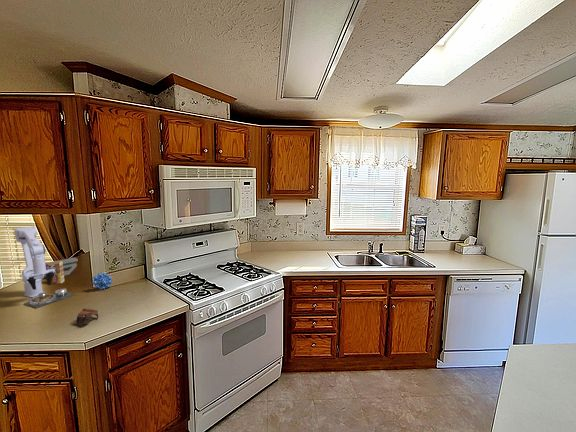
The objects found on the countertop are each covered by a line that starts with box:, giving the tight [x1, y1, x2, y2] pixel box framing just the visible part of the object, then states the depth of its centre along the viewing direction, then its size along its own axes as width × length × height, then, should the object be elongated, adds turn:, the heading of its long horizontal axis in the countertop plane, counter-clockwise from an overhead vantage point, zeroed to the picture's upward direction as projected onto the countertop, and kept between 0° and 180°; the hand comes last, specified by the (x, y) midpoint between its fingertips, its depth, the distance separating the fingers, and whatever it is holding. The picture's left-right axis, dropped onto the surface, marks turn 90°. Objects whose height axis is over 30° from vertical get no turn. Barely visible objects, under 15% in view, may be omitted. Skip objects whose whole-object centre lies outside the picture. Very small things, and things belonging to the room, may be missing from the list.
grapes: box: [91, 272, 113, 291], centre depth 193 cm, size 12×7×12 cm, turn 139°
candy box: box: [45, 261, 65, 285], centre depth 207 cm, size 9×4×15 cm, turn 99°
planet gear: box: [34, 291, 52, 302], centre depth 175 cm, size 8×8×4 cm
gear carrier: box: [23, 287, 75, 309], centre depth 178 cm, size 13×20×4 cm, turn 157°
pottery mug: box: [75, 307, 99, 327], centre depth 150 cm, size 12×10×8 cm
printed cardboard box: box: [44, 257, 79, 277], centre depth 223 cm, size 25×8×11 cm, turn 143°
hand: (41, 287), depth 175 cm, fingers open, 7 cm apart
